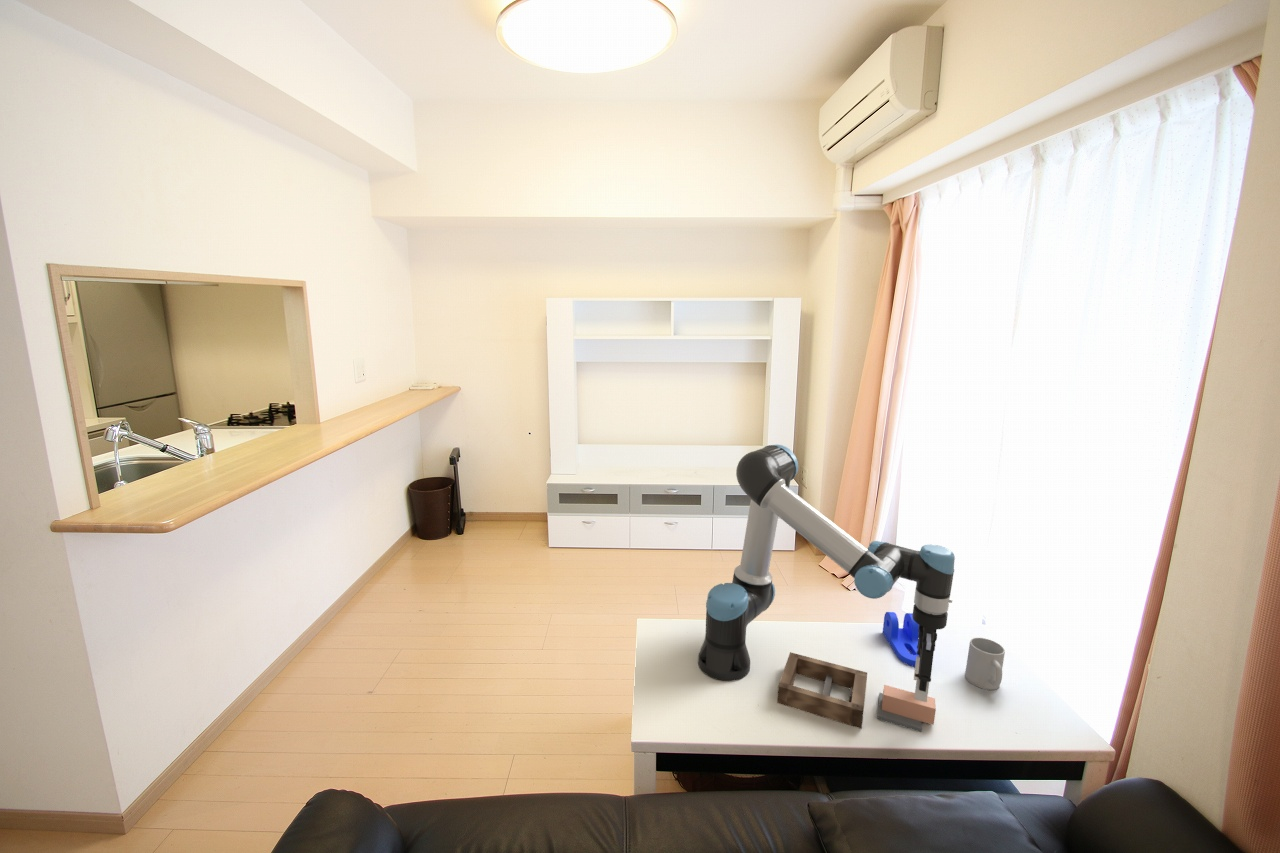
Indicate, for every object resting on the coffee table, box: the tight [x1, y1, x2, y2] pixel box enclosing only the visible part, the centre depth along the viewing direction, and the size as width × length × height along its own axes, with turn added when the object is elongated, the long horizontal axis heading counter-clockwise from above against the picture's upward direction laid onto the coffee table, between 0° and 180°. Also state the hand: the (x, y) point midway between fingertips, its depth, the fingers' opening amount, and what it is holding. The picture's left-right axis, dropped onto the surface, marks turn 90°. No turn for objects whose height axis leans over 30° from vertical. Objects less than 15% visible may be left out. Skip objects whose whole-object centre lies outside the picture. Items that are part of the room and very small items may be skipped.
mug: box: [964, 637, 1006, 691], centre depth 154 cm, size 12×8×11 cm
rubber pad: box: [877, 692, 923, 733], centre depth 143 cm, size 10×10×1 cm
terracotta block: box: [882, 684, 937, 726], centre depth 142 cm, size 12×4×4 cm, turn 65°
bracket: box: [882, 611, 919, 668], centre depth 171 cm, size 18×8×9 cm, turn 175°
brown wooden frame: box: [776, 651, 868, 730], centre depth 149 cm, size 21×17×5 cm
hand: (919, 689), depth 140 cm, fingers open, 8 cm apart
